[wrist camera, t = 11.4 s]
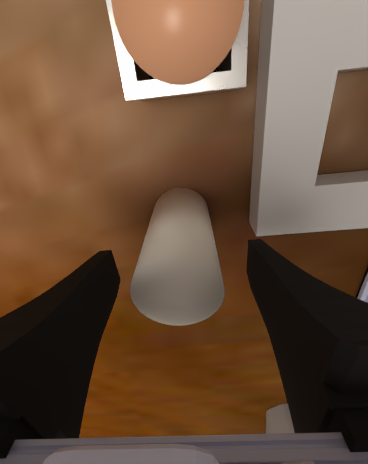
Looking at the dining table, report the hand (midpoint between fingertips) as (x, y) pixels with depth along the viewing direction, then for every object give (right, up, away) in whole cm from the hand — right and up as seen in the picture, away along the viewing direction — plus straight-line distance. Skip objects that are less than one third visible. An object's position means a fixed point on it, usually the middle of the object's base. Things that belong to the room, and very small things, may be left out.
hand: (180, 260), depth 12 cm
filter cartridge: (0, +3, +5) cm, 5 cm away
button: (0, +11, -1) cm, 11 cm away
